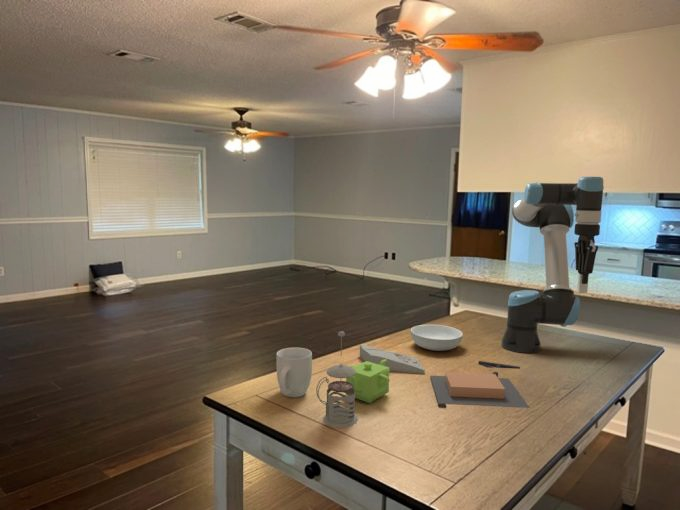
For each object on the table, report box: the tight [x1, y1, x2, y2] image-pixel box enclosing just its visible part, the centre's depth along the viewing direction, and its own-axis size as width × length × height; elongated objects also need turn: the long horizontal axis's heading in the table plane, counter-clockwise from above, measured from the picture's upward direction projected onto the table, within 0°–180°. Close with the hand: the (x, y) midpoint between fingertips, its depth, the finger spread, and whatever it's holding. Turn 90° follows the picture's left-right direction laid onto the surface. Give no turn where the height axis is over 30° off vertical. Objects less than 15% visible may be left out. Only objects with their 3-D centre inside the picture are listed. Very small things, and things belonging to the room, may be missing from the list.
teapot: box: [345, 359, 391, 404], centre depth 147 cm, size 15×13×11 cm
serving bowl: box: [410, 324, 464, 352], centre depth 195 cm, size 21×21×7 cm
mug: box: [275, 347, 313, 398], centre depth 146 cm, size 15×11×13 cm
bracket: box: [478, 360, 521, 377], centre depth 169 cm, size 14×15×3 cm
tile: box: [444, 371, 505, 399], centre depth 150 cm, size 12×3×16 cm
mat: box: [429, 375, 530, 409], centre depth 151 cm, size 22×26×1 cm
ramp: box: [359, 344, 426, 375], centre depth 175 cm, size 28×16×5 cm, turn 55°
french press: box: [316, 330, 359, 429], centre depth 130 cm, size 10×12×25 cm
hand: (582, 292), depth 163 cm, fingers closed
